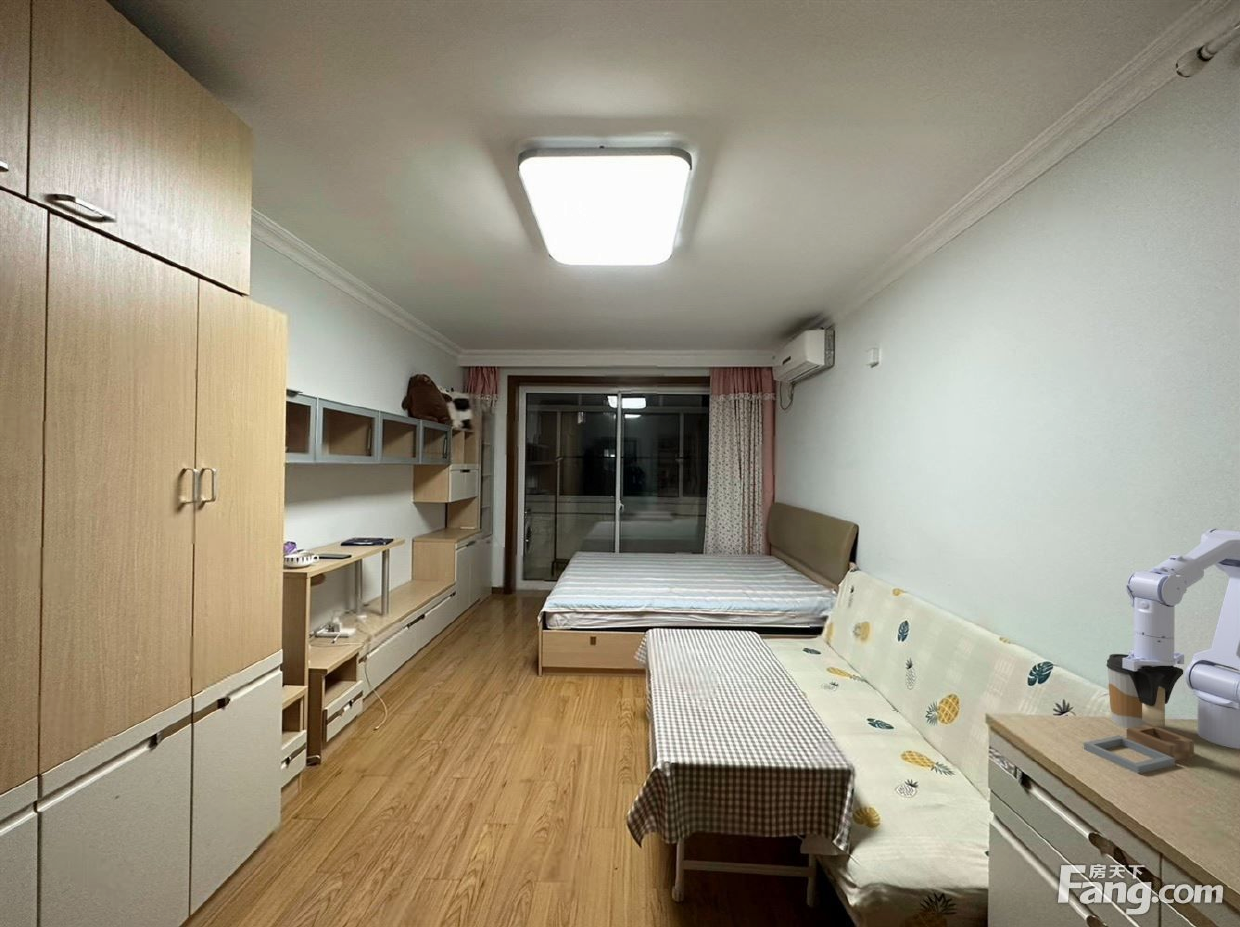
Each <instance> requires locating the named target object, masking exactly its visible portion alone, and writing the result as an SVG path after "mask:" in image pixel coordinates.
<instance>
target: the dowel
mask: <svg viewBox="0 0 1240 927" xmlns="http://www.w3.org/2000/svg"><path fill="white" fill-rule="evenodd" d="M1142 721H1143V722H1145V723H1147V724H1150V725H1153V726H1156V727H1159V728H1162V727H1165V726H1166V704H1165V689H1164V688H1162V687H1160V686H1159V687H1158V691H1157V698H1156V703H1155V705H1154V706H1149V705H1146V704H1144V703H1142Z"/></svg>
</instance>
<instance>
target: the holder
mask: <svg viewBox="0 0 1240 927" xmlns="http://www.w3.org/2000/svg"><path fill="white" fill-rule="evenodd" d="M1126 738H1127V739H1129V740H1132V741H1134V742H1136V743H1139V744H1141V745H1144V746H1146V747H1149V748H1151V749H1154V750H1156V751H1158V752H1161V753H1163V754H1166V755H1168V756H1171V757H1173V758H1175V762H1176V761H1181V760H1184V759H1188V758H1193V757H1195V740H1193V739H1190V738H1188V737H1186V736H1182V735H1179V734H1177V733H1174V732H1171V731H1169V730H1167V729H1164V728H1162V727H1159V726H1153V725H1150V724H1149V725H1144V726H1139V727H1134V728H1129V729H1128V728H1126Z"/></svg>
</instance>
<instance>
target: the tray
mask: <svg viewBox="0 0 1240 927" xmlns="http://www.w3.org/2000/svg"><path fill="white" fill-rule="evenodd" d="M1119 746H1123V747H1124V748H1127V749H1130V750H1132V751H1134V752H1137V753H1140V754H1141V755H1143V756H1146V757H1149V758H1150V759H1146V760H1142V761H1138V762H1135V761H1132V760H1129V759H1127V758H1125V757H1123V756H1120V755H1118V754H1116V753H1114V752H1112V751H1109V750H1108V749H1110V748H1115V747H1119ZM1083 750H1084V751H1087V752H1089V753H1091V754H1093V755H1096V756H1098V757H1100V758H1102V759H1105V760H1106V761H1108V762H1111V763H1113V764H1114V765H1118V766H1120V767H1121V768H1124V769H1126V770H1128V771H1131V772H1133V773H1135V774H1137V775H1139V774H1143V773H1144V774H1145V773H1147V772H1149V773H1150V772H1152V771H1156V770H1161V769H1164V768H1169V767H1173V766H1175V764H1176V761H1175V758H1173V757H1171V756H1168V755H1166V754H1163V753H1161V752H1158V751H1156V750H1154V749H1151V748H1149V747H1146V746H1144V745H1141V744H1139V743H1136V742H1134V741H1132V740H1129V739H1127V737H1124V736H1122V735H1115V736H1110V737H1105V738H1100V739H1099V738H1098V739H1094V740H1090V741H1084V742H1083Z"/></svg>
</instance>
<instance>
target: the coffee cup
mask: <svg viewBox="0 0 1240 927" xmlns="http://www.w3.org/2000/svg"><path fill="white" fill-rule="evenodd" d="M1129 655H1130V654H1123V653H1111V654H1109V656H1108V659H1106V662H1107V663H1106V665H1105V666H1106V667H1107V676H1108V677H1107V678H1108V695H1109V704H1110V707H1109V708H1110V710H1111V711H1110V712H1111V721H1112V723H1114V724H1116V725H1118V726H1120V727H1122V728H1124V729H1129V728H1134V727H1139V726H1144V725H1149V724H1147V723H1145V722H1143V721H1142V703H1141V702H1140V701H1139V698H1138V695H1137V691H1136V688H1135V685H1134V683H1133V681H1132V679H1131V677H1130V675H1129V674H1128V672H1127V671H1126V669H1125V668H1122V667H1123V658H1126V657H1128V656H1129Z"/></svg>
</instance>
